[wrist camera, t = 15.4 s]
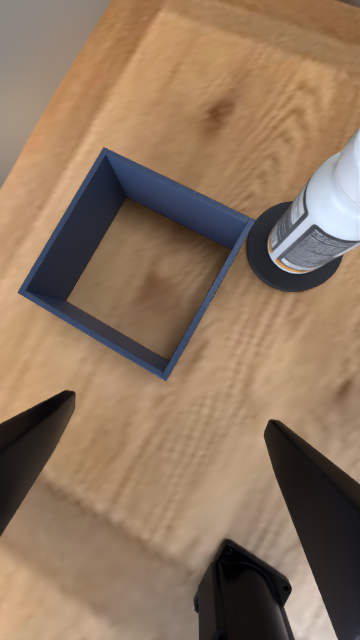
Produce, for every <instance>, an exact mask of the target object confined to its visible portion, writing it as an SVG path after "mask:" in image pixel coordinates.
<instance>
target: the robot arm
mask: <svg viewBox="0 0 360 640" xmlns="http://www.w3.org/2000/svg"><path fill="white" fill-rule="evenodd" d="M75 398H76V393H75V392H74V391H69V390H65V391H63V392H61V393H59V394H57V395H55V396H53V397H51V398H49V399H47V400H45V401H43V402H41V403H39V404H37V405H36V406H34V407H32V408H30V409H28V410H26V411H24V412H22V413H20V414H18V415H16V416H14V417H12V418H11V419H9V420H7V421H5V422H3V423H1V424H0V536H1V535H2V533H3V532H4V530H5V528H6V527H7V525H8V524H9V522H10V520H11V519H12V517H13V516H14V514H15V512H16V511H17V509H18V508H19V506H20V504H21V503H22V501H23V500H24V498H25V496H26V495H27V493H28V492H29V490H30V488H31V487H32V485H33V484H34V482H35V480H36V479H37V477H38V476H39V474H40V472H41V471H42V469H43V468H44V466H45V464H46V463H47V461H48V460H49V458H50V456H51V455H52V453H53V451H54V450H55V448H56V446H57V444H58V442H59V440H60V438H61V436H62V434H63V432H64V430H65V428H66V426H67V424H68V422H69V420H70V418H71V416H72V414H73V412H74V409H75ZM264 439H265V442H266V446H267V449H268V453H269V456H270V460H271V463H272V467H273V470H274V473H275V476H276V479H277V481H278V484H279V487H280V489H281V492H282V495H283V497H284V500H285V502H286V505H287V508H288V510H289V513H290V515H291V518H292V521H293V523H294V526H295V528H296V531H297V534H298V536H299V539H300V542H301V544H302V547H303V549H304V552H305V555H306V557H307V560H308V562H309V565H310V568H311V570H312V573H313V576H314V578H315V581H316V583H317V586H318V589H319V591H320V594H321V596H322V599H323V602H324V604H325V607H326V609H327V612H328V615H329V617H330V620H331V623H332V625H333V628H334V630H335V633H336V636H337V638H338V640H360V484H359V483H358V482H356V481H355V480H354V479H353V478H351V477H350V476H349V475H348V474H346V473H345V472H344V471H343V470H341V469H340V468H339V467H337V466H336V465H335V464H334V463H332V462H331V461H330V460H329V459H327V458H326V457H325V456H324V455H322V454H321V453H320V452H318V451H317V450H316V449H315V448H313V447H312V446H311V445H310V444H308V443H307V442H306V441H305V440H303V439H302V438H301V437H300V436H298V435H297V434H296V433H294V432H293V431H292V430H291V429H289V428H288V427H287V426H286V425H284V424H283V423H282V422H281V421H279V420H273V419H270V420H269V422H268V424H267V426H266V429H265V431H264ZM228 548H229V549H228ZM291 591H292V588H291V585H290V582H289V580H288V579H287V578H286V577H285V576H283V575H282V574H280V573H279V572H277V571H276V570H274V569H273V568H271V567H270V566H268V565H267V564H265V563H264V562H262V561H261V560H259V559H258V558H256V557H255V556H253V555H252V554H250V553H249V552H247V551H246V550H244V549H243V548H241V547H240V546H238V545H237V544H235V543H234V542H232V541H230V540H225V541H224V542H223V544H222V546H221V548H220V550H219V552H218V554H217V555H216V557H215V559H214V561H213V562H212V563H211V564H210V566H209V568H208V570H207V571H206V573H205V575H204V577H203V579H202V581H201V583H200V585H199V587H198V591H197V593H196V595H195V597H194V610H195V611H196V612H197V613H199V640H295V639H294V636H293V633H292V630H291V627H290V624H289V621H288V618H287V615H286V612H285V609H284V605H285V603H286V601H287V599H288V597H289V595H290V593H291Z"/></svg>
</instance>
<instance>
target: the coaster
mask: <svg viewBox="0 0 360 640" xmlns="http://www.w3.org/2000/svg"><path fill="white" fill-rule="evenodd" d="M292 202H293V201H290V202H284V203H280V204H278V205H275V206H273V207H271V208H269V209H268V210H267V211H265V212H264V213H263V214H262V215H261V216H260V217H259V218H258V219H257V220H256V222H255V223H254V225H253V227H252V229H251V231H250V233H249V236H248V240H247V256H248V260H249V263H250V265H251V267H252V269H253V271H254V272H255V273H256V275H257V276H258V277H259V278H260V279H261V280H262V281H264V282H265V283H266V284H268V285H270V286H271V287H274V288H276V289H279V290H282V291H288V292H298V291H304V290H308V289H311V288H314V287H316V286H318V285H320V284H322V283H324V282H325V281H327V280H328V279H329V278H330V277H331V276H332V275H333V274H334V273H335V271H336V270H337V268H338V267H339V265H340V263H341V260H342V257H343V255H341V256H339V257H337V258H335V259H333V260H331V261H330V262H328V263H326V264H324V265H323V266H321V267H319V268H317V269H315V270H313V271H310V272H307V273H301V274H297V273H290V272H287V271H285V270H283V269H281V268H279V267H278V266H277V265H276V264H275V263H274V262H273V261H272V259H271V257H270V255H269V252H268V239H269V235H270V233H271V231H272V229H273V228H274V226H275V225H276V223H277V222H278V221H279V219H280V218H281V217H282V215H283V214H284V213H285V211H286V210H287V209H288V207H289V206H290V205H291V203H292Z"/></svg>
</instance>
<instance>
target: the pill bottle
mask: <svg viewBox="0 0 360 640" xmlns="http://www.w3.org/2000/svg"><path fill="white" fill-rule="evenodd" d="M359 245H360V128H359V129H358V130H357V132H356V133H355V134H354V135H353V136H352V138H351V139H350V140H349V141H348V142H347V144H346V145H345V146H344V148H343V150H342V151H341V152H339V153H337V154H335V155H333V156H332V157H330V158H329V159H327V160H326V161H325V162H324V163H323V164H322V165H321V166H320V167H319V168H318V169H317V170H316V171H315V172H314V173H313V175H312V176H311V178H310V179H309V181H308V182H307V183H306V184H305V186H304V187H303V189H302V190H301V191H300V193H299V194H298V195H297V197H296V198H295V199H294V201H293V202H292V203H291V205H290V206H289V207H288V209H287V210H286V211H285V213H284V214H283V215H282V217H281V218H280V219H279V221H278V222H277V223H276V225H275V226H274V228H273V229H272V231H271V233H270V235H269V239H268V252H269V255H270V257H271V259H272V261H273V262H274V263H275V264H276V265H277V266H278V267H279V268H281V269H283V270H285V271H287V272H290V273H297V274H301V273H307V272H310V271H313V270H315V269H317V268H319V267H321V266H323V265H324V264H326V263H328V262H330V261H331V260H333V259H335V258H337V257H339V256H341V255H343V254H345V253H347V252H348V251H350V250H352V249H354V248H356V247H358V246H359Z"/></svg>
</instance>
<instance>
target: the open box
mask: <svg viewBox="0 0 360 640" xmlns="http://www.w3.org/2000/svg"><path fill="white" fill-rule="evenodd" d="M126 197H128V198H130V199H132V200H134V201H136V202H138V203H140V204H142V205H144V206H146V207H148V208H150V209H152V210H154V211H156V212H157V213H159V214H161V215H163V216H165V217H167V218H169V219H171V220H173V221H175V222H177V223H179V224H181V225H183V226H185V227H187V228H189V229H191V230H193V231H195V232H197V233H199V234H201V235H203V236H205V237H207V238H209V239H211V240H213V241H215V242H217V243H219V244H221V245H223V246H225V247H227V248H229V249H231V250H232V251H231V252H230V254H229V256H228V258H227V260H226V261H225V263H224V265H223V267H222V269H221V270H220V272H219V274H218V276H217V277H216V279H215V281H214V283H213V285H212V286H211V288H210V290H209V292H208V294H207V295H206V297H205V299H204V301H203V303H202V304H201V306H200V308H199V310H198V311H197V313H196V315H195V317H194V319H193V320H192V322H191V324H190V326H189V328H188V329H187V331H186V333H185V335H184V336H183V338H182V340H181V342H180V344H179V345H178V347H177V349H176V351H175V353H174V354H173V356H172V358H171V360H170V361H168V360H166V359H164V358H163V357H161V356H159V355H158V354H156V353H154V352H152V351H151V350H149V349H147V348H146V347H144V346H142V345H141V344H139V343H137V342H135V341H134V340H132V339H130V338H129V337H127V336H125V335H123V334H122V333H120V332H118V331H117V330H115V329H113V328H111V327H110V326H108V325H106V324H105V323H103V322H101V321H100V320H98V319H96V318H94V317H93V316H91V315H89V314H88V313H86V312H84V311H82V310H81V309H79V308H77V307H76V306H74V305H72V304H70V303H69V302H67V301H66V299H67V298H68V296H69V294H70V293H71V291H72V289H73V287H74V286H75V284H76V282H77V281H78V279H79V277H80V275H81V274H82V272H83V270H84V269H85V267H86V265H87V263H88V262H89V260H90V258H91V257H92V255H93V253H94V251H95V250H96V248H97V246H98V245H99V243H100V241H101V239H102V238H103V236H104V234H105V233H106V231H107V229H108V227H109V226H110V224H111V222H112V221H113V219H114V217H115V215H116V214H117V212H118V210H119V209H120V207H121V205H122V203H123V202H124V200H125V198H126ZM255 221H256V220H254V219H252V218H250V217H248V216H246V215H244V214H242V213H240V212H238V211H235V210H233V209H231V208H229V207H227V206H225V205H223V204H221V203H219V202H217V201H215V200H213V199H210V198H208V197H206V196H204V195H202V194H200V193H198V192H196V191H194V190H192V189H190V188H188V187H186V186H183V185H181V184H179V183H177V182H175V181H173V180H171V179H169V178H167V177H165V176H163V175H161V174H159V173H156V172H154V171H152V170H150V169H148V168H146V167H144V166H142V165H140V164H138V163H136V162H134V161H131V160H129V159H127V158H125V157H123V156H121V155H119V154H117V153H115V152H113V151H111V150H108V149H107V148H104V147H103V149H102V151H101V152H100V154H99V156H98V157H97V159H96V161H95V163H94V164H93V166H92V168H91V169H90V171H89V173H88V174H87V176H86V178H85V179H84V181H83V183H82V184H81V186H80V188H79V190H78V191H77V193H76V195H75V196H74V198H73V200H72V201H71V203H70V205H69V206H68V208H67V210H66V212H65V213H64V215H63V217H62V218H61V220H60V222H59V223H58V225H57V227H56V228H55V230H54V232H53V233H52V235H51V237H50V239H49V240H48V242H47V244H46V245H45V247H44V249H43V250H42V252H41V254H40V255H39V257H38V259H37V260H36V262H35V264H34V266H33V267H32V269H31V271H30V272H29V274H28V276H27V277H26V279H25V281H24V282H23V284H22V286H21V288H20V289H19V291H18V293H19V294H20V295H22V296H24V297H25V298H27V299H29V300H30V301H32V302H34V303H36V304H37V305H39V306H41V307H42V308H44V309H46V310H47V311H49V312H51V313H52V314H54V315H56V316H57V317H59V318H61V319H62V320H64V321H66V322H67V323H69V324H71V325H72V326H74V327H76V328H77V329H79V330H81V331H82V332H84V333H86V334H87V335H89V336H91V337H92V338H94V339H96V340H97V341H99V342H101V343H102V344H104V345H106V346H107V347H109V348H111V349H112V350H114V351H116V352H118V353H119V354H121V355H123V356H124V357H126V358H128V359H129V360H131V361H133V362H134V363H136V364H138V365H139V366H141V367H143V368H144V369H146V370H148V371H149V372H151V373H153V374H154V375H156V376H158V377H159V378H160V377H161V379H163V380H164V381H167V379H168V377H169V375H170V374H171V372H172V370H173V368H174V366H175V365H176V363H177V361H178V359H179V357H180V356H181V354H182V352H183V350H184V348H185V347H186V345H187V343H188V341H189V340H190V338H191V336H192V334H193V332H194V331H195V329H196V327H197V325H198V323H199V322H200V320H201V318H202V316H203V314H204V313H205V311H206V309H207V307H208V305H209V304H210V302H211V300H212V298H213V297H214V295H215V293H216V291H217V289H218V288H219V286H220V284H221V282H222V280H223V279H224V277H225V275H226V273H227V271H228V270H229V268H230V266H231V264H232V262H233V261H234V259H235V257H236V255H237V254H238V252H239V250H240V248H241V246H242V245H243V243H244V241H245V239H246V237H247V236H248V234H249V232H250V230H251V228H252V227H253V225H254V223H255Z"/></svg>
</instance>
